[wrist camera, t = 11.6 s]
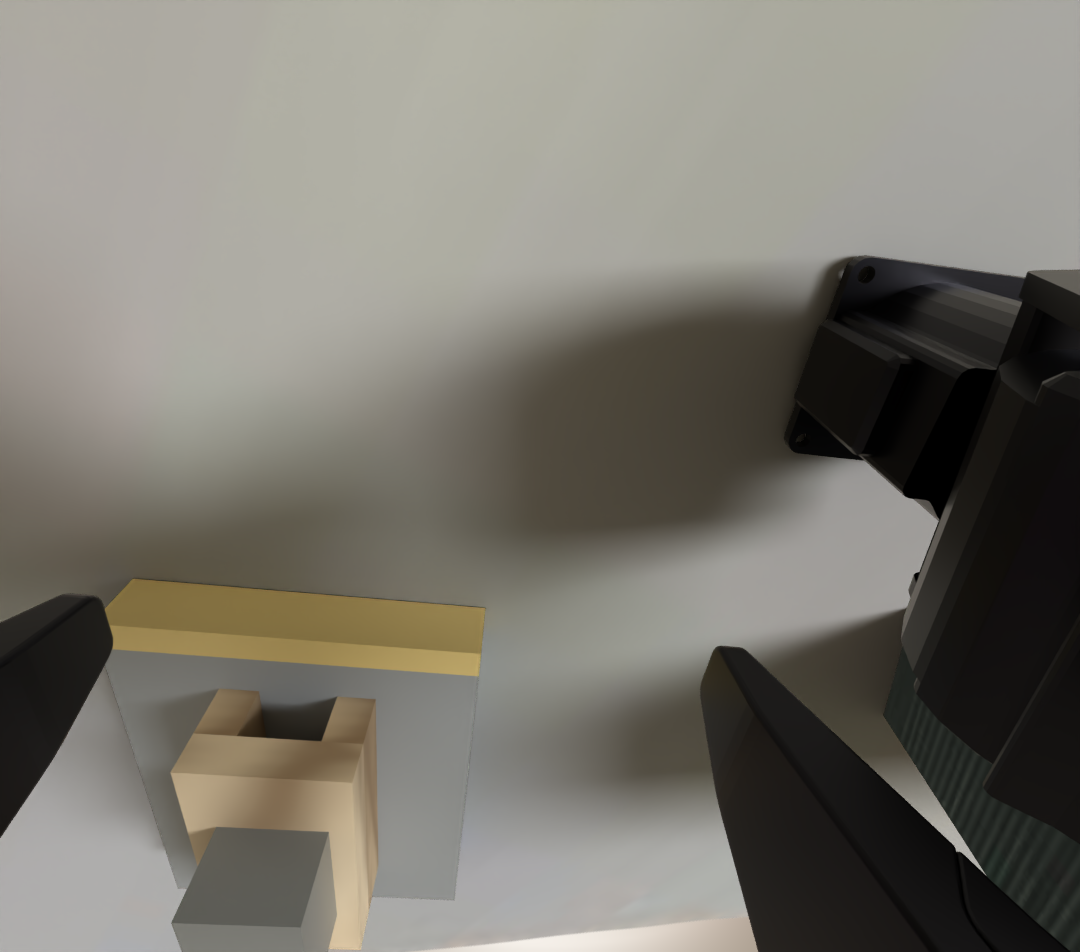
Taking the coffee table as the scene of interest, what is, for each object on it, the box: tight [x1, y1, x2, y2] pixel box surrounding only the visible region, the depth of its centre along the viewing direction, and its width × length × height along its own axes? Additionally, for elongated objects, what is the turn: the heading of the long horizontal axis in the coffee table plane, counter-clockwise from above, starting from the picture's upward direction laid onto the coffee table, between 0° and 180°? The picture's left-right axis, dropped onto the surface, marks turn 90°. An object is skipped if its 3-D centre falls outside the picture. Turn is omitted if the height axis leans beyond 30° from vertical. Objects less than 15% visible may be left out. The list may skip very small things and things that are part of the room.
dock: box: [105, 579, 485, 900], centre depth 27 cm, size 14×18×2 cm
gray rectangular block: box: [171, 827, 337, 952], centre depth 21 cm, size 4×6×3 cm, turn 173°
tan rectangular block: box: [170, 688, 378, 950], centre depth 24 cm, size 6×12×4 cm, turn 173°
